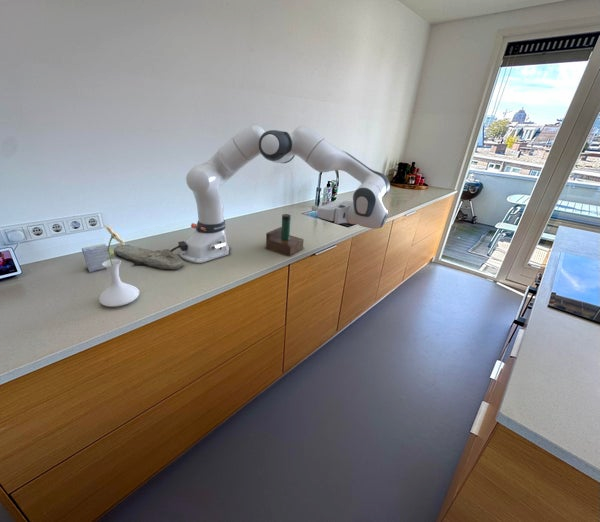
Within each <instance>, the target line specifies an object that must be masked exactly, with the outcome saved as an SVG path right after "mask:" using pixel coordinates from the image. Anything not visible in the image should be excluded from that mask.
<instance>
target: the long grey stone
mask: <svg viewBox="0 0 600 522" xmlns="http://www.w3.org/2000/svg"><path fill="white" fill-rule="evenodd" d="M170 250H171V249H169V248H166V249H161V250H152V249H148V248H143V247H139V246H134V245H131V244H124V245H122V244H120V245H116V247H114V248H113V251H114V254H113V255H115V256H118V257H122V258H123V259H126V260H129V261H132V262H134V263H144V264H147V265H146V266H150V267H154V268H158V269H161V270H165V269H166V270H178V269H180V268H182V267H183V265H184V261H183V258H181V257H180V255H178V254H176V253H174V252H173V251H172V252H170Z"/></svg>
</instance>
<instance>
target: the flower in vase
mask: <svg viewBox="0 0 600 522" xmlns="http://www.w3.org/2000/svg"><path fill="white" fill-rule="evenodd" d="M104 227H105V229H106V230H107V231H108V233H109V234H110V238H109V242H108V244H107V247H108V253H109V257H108V258H110V260H107V261H105V262H103V263H102V265H103V266H104V267H106V268H105V269H106V270H107V271H108V273H109V275H110V279H111V283H110V285H108V287H107V288H106V289H104V290H103V291H102V292H101V294H100V295H99V297H98V301H99V303H100V304H101V305H103V306H104V307H109V308H110V307H111V308H116V307H121V306H125V305H127V304H130V303H133V302H134V301H135V300H137V298H138V297H139V295H140V290H139V289H138V287H136V286H134V285H132V284H129V283H126V282H123V281H122V279H121V277H120V271H119V270H120V269H119V268H120V265H121V263H122V260H121V259H116V258H114V259H113V257H114V256H115V254H114V249H112V247H111V243H112V240H113V239H115V240H116V242H118V244H120V245H126V243H125V241H124V239H123V238H121V237H120V234H118V233H117V232H115V230H114V228H112V227H110V225H109V224H105V225H104ZM108 258H107V259H108Z"/></svg>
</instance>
